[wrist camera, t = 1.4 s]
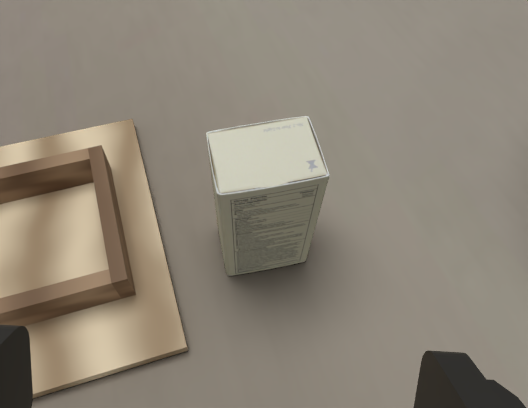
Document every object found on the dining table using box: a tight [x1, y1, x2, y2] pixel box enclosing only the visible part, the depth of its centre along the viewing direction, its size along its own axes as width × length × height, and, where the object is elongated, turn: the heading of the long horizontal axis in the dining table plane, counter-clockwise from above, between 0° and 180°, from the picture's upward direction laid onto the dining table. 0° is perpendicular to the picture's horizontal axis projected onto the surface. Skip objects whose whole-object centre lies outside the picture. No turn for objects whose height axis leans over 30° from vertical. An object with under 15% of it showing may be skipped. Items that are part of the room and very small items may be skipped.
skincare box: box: [206, 116, 329, 276], centre depth 31 cm, size 6×4×12 cm
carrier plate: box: [0, 119, 188, 398], centre depth 34 cm, size 16×20×4 cm
